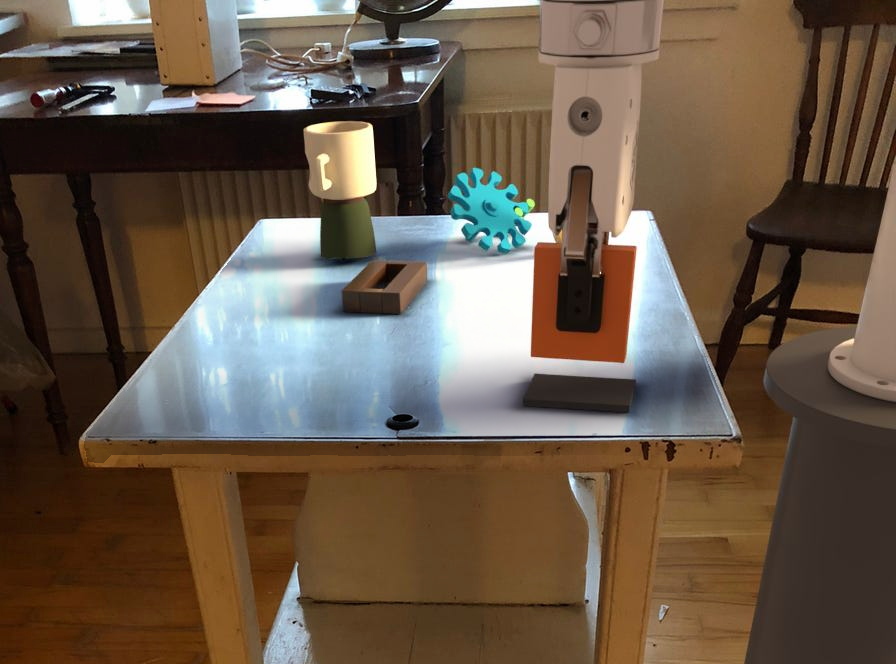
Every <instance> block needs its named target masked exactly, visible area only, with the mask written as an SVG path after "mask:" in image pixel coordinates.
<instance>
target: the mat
mask: <svg viewBox="0 0 896 664" xmlns="http://www.w3.org/2000/svg"><path fill="white" fill-rule="evenodd" d="M636 386H637V379H635V378H634V379H633V378H619V377H618V378H617V377H602V376H601V377H599V376H584V375H565V374H551V373H533V376H532V378H531V380H530V382H529V384H528V387H527V389H526V391H525V393H524V396H523V398H522V406H523V407H536V408H550V409H551V408H552V409H564V410H565V409H567V410H579V411H594V412H595V411H596V412H609V413H610V412H612V413H626V414H629V413H630V412H631V408H632V403H633V399H634V395H635V391H636Z"/></svg>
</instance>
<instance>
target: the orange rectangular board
mask: <svg viewBox="0 0 896 664" xmlns="http://www.w3.org/2000/svg"><path fill="white" fill-rule="evenodd" d="M561 244H562V243H556V242H548V241H546V242H543V241H538V242H537V243H536V245H535V246H534V249H533V251H534V252H533V279H532V303H531V305H532V306H531V307H532V308H531V332H530V335H531V336H530V358H542V359H553V360H554V359H556V360H569V361H571V360H572V361H583V362H584V361H585V362H586V361H587V362H601V363H613V364H614V363H615V364H624V363H625V362H626V358H627V352H628V342H629V340H628V339H629V330H630V321H631V311H632V300H633V289H634V278H635V269H636V259H637V249H638V247H637V246H636V245H628V244H627V245H623V244H608V245H603V255H602V269H601V275H605V282H604V295H603V307H602V320H601V328H600V330H599V332H597V333H583V332H566V331H559V330H558V329H557V328H556V314H557V295H558V275H559V273H560V266H561ZM593 248H594V244H593Z"/></svg>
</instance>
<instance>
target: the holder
mask: <svg viewBox="0 0 896 664" xmlns="http://www.w3.org/2000/svg"><path fill="white" fill-rule="evenodd" d="M428 282H429V281H428V262H427V261H411V260H410V261H409V260H408V261H407V260H381V259H379V260H377V259H375V260H374V259H371V261H370V262H368V264H367V265H366V266H365V267H364V268H362V270H360V272H358V274H357V275H356V276H355V277H354V278H353V279H352V280H351V281H349V283H348V284H346V286H345V287H343V288H342V289H341V292H340V293H341V302H342V311H343V312H344V313H345V312H346V313H365V314H368V313H369V314H385V315H386V314H387V315H388V314H389V315H402V314H403V312H404V311H405V310H406V309H407V307H408V306H409V305H410V304H411V302H412V301H413V300H414V299H415V298H416V296H417V295H418V294H419V293H420V292H421V290H422V289H423V288H424V287H425V286H426V285H427V283H428ZM387 284H388V285H387ZM386 285H387V286H386ZM385 286H386V287H385Z"/></svg>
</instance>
